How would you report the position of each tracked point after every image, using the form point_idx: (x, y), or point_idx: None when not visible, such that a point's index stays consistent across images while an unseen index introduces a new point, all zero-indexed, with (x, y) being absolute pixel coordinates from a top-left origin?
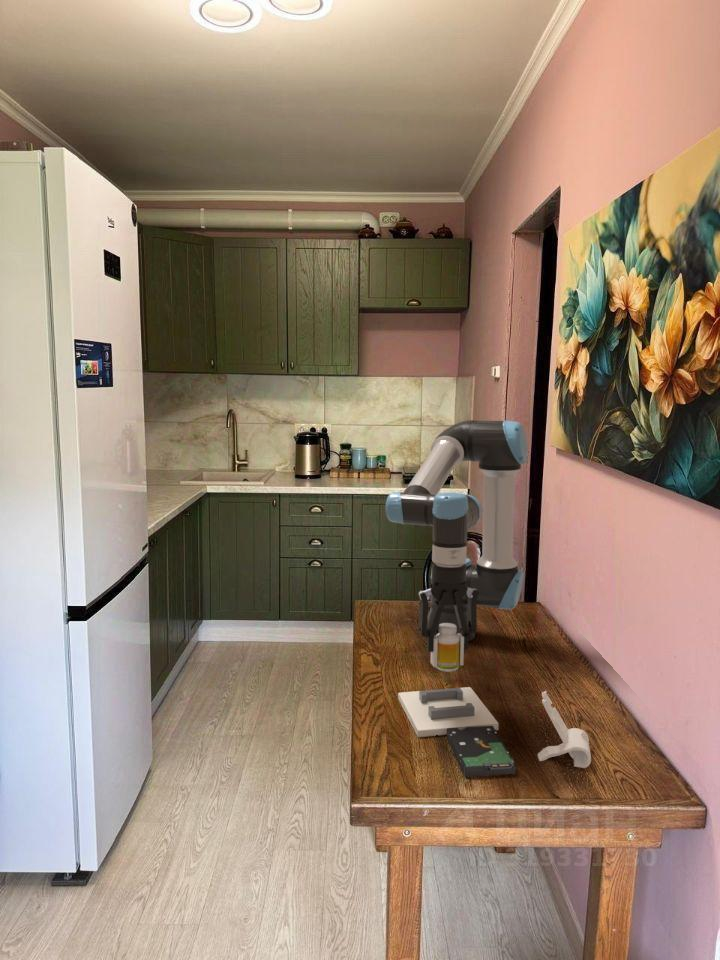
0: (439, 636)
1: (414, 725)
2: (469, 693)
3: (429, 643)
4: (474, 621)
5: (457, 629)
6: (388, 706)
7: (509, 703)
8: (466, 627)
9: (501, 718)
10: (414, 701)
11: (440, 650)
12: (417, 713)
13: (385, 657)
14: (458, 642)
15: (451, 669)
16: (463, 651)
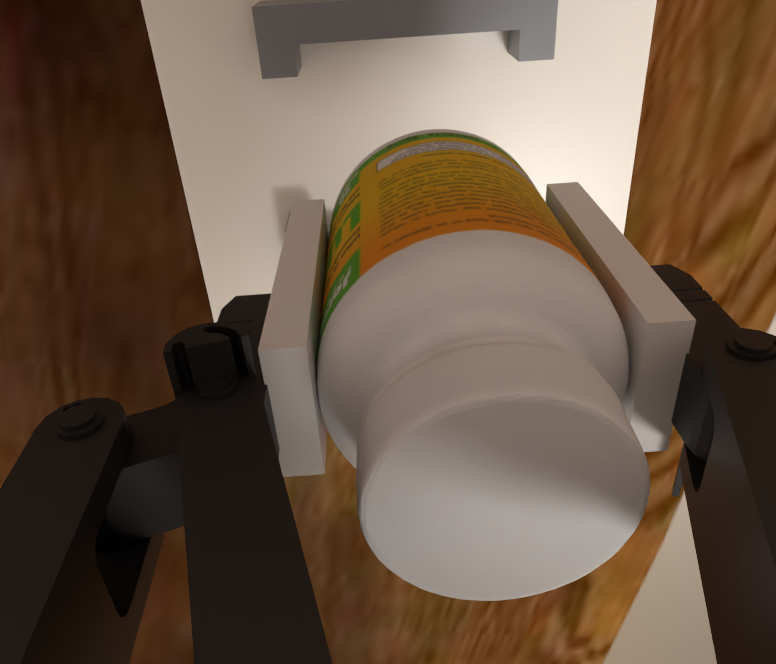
0: (608, 374)
1: None
2: (236, 280)
3: (712, 313)
4: (5, 546)
5: None
6: (677, 233)
7: (23, 204)
8: (193, 458)
9: (87, 30)
10: None
11: (568, 238)
12: (596, 76)
13: (525, 623)
14: (348, 289)
15: (423, 134)
16: (282, 258)
